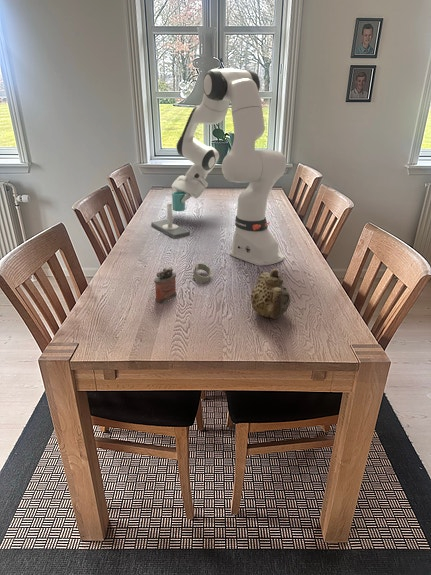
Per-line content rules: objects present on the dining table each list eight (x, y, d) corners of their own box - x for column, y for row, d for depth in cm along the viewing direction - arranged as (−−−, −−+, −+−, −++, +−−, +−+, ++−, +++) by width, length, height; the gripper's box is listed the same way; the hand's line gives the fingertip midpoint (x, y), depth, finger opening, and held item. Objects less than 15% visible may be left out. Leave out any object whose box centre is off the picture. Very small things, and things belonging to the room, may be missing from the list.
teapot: (245, 298, 131) (248, 254, 124) (280, 298, 132) (285, 254, 125) (255, 336, 112) (259, 286, 105) (297, 335, 113) (304, 286, 106)
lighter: (171, 292, 133) (170, 263, 129) (178, 295, 131) (178, 266, 127) (152, 301, 128) (151, 271, 123) (160, 304, 126) (159, 275, 121)
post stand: (189, 235, 181) (189, 207, 175) (174, 238, 177) (173, 209, 171) (166, 222, 195) (165, 196, 189) (151, 225, 191) (150, 198, 185)
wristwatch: (193, 272, 148) (193, 259, 145) (211, 272, 148) (211, 259, 145) (192, 283, 139) (192, 270, 137) (211, 284, 139) (211, 270, 137)
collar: (187, 210, 198) (186, 193, 194) (176, 211, 195) (176, 195, 191) (180, 207, 202) (180, 191, 198) (170, 209, 199) (170, 192, 195)
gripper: (179, 169, 202) (162, 191, 201) (202, 176, 188) (185, 201, 187) (186, 177, 207) (170, 199, 206) (210, 185, 192) (193, 209, 191)
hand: (177, 200), depth 196 cm, fingers closed on collar, 6 cm apart
